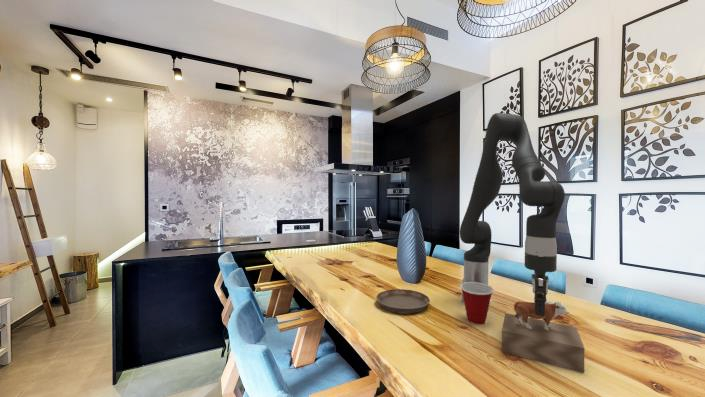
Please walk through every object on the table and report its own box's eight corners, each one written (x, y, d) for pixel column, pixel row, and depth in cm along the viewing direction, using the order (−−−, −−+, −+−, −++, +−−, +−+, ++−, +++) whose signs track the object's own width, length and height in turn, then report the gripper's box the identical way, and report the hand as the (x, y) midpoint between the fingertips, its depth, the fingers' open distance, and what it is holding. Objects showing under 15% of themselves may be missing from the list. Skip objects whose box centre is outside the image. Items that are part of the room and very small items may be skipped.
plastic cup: (459, 324, 97) (460, 289, 97) (459, 312, 107) (459, 280, 107) (495, 330, 93) (496, 293, 93) (491, 317, 103) (492, 283, 103)
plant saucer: (407, 321, 99) (407, 312, 99) (365, 304, 115) (365, 296, 115) (440, 306, 113) (440, 298, 113) (398, 293, 128) (398, 286, 128)
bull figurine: (571, 335, 77) (571, 304, 77) (515, 328, 81) (515, 299, 81) (563, 327, 82) (564, 299, 82) (511, 322, 85) (511, 294, 85)
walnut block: (501, 351, 80) (501, 330, 80) (504, 332, 92) (505, 313, 92) (584, 372, 70) (584, 348, 70) (576, 347, 82) (576, 326, 82)
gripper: (525, 247, 89) (524, 299, 89) (524, 255, 77) (523, 315, 77) (554, 250, 85) (553, 304, 85) (559, 258, 73) (557, 322, 73)
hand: (539, 309), depth 81 cm, fingers open, 8 cm apart
